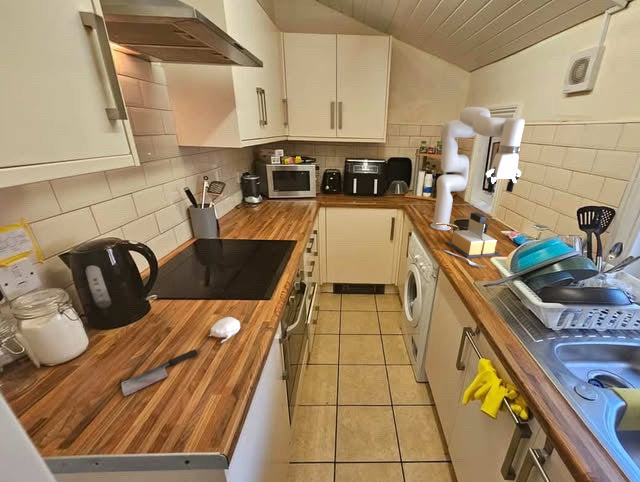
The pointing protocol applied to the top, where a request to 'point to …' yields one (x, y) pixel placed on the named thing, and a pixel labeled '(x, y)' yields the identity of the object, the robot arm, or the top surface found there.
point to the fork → (466, 259)
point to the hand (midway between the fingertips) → (499, 191)
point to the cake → (473, 244)
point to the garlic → (225, 328)
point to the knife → (477, 224)
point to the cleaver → (152, 375)
